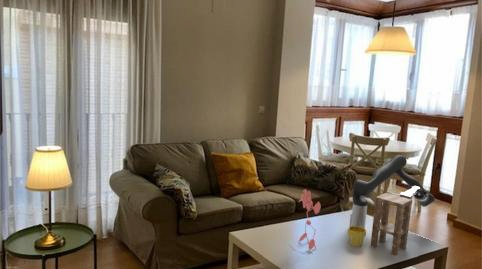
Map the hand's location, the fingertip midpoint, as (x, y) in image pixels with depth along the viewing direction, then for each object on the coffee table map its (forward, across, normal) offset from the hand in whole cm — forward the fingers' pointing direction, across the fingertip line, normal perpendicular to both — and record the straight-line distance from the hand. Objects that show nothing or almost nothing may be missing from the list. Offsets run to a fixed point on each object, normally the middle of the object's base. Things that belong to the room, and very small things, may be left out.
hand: (414, 188), depth 247 cm
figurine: (+44, -37, +58) cm, 82 cm away
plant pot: (+19, -17, +46) cm, 52 cm away
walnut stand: (+9, -2, +40) cm, 41 cm away
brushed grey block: (+3, 0, +5) cm, 5 cm away
